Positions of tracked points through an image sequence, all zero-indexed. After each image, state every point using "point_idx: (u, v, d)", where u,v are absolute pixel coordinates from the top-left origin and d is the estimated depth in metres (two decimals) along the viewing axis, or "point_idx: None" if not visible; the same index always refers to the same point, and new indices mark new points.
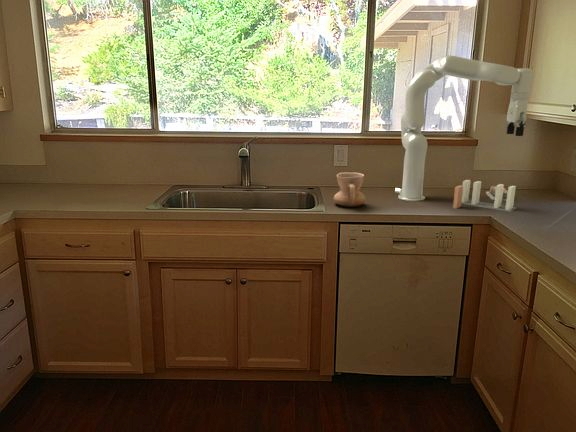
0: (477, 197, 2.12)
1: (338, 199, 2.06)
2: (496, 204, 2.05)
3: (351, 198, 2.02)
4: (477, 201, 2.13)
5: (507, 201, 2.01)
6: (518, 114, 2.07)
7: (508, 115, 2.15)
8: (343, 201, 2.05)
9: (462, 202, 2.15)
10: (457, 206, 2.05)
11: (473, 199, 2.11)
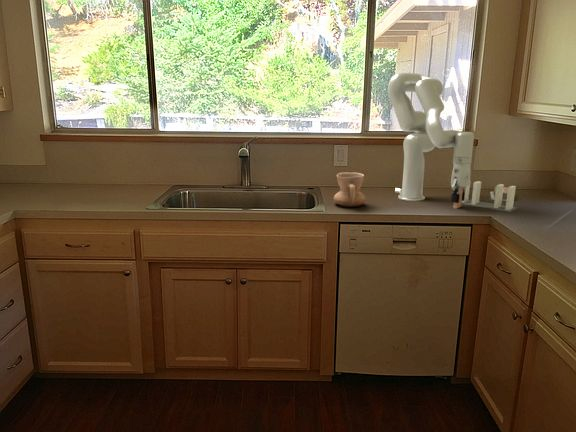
0: (477, 197, 2.12)
1: (338, 199, 2.06)
2: (496, 204, 2.05)
3: (351, 198, 2.02)
4: (477, 201, 2.13)
5: (507, 201, 2.01)
6: None
7: (463, 181, 2.00)
8: (343, 201, 2.05)
9: (462, 202, 2.15)
10: (457, 206, 2.05)
11: (473, 199, 2.11)
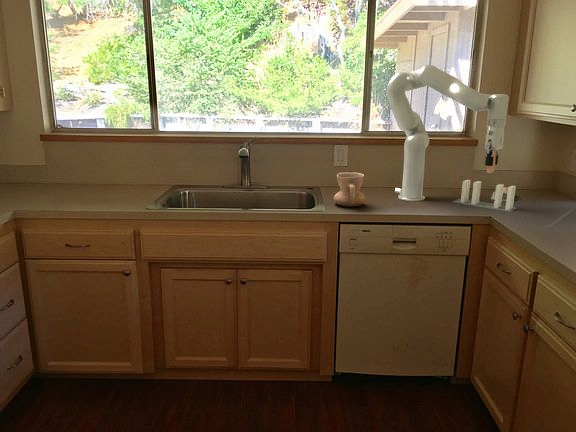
0: (477, 197, 2.12)
1: (338, 199, 2.06)
2: (496, 204, 2.05)
3: (351, 198, 2.02)
4: (477, 201, 2.13)
5: (507, 201, 2.01)
6: None
7: (498, 143, 1.99)
8: (343, 201, 2.05)
9: (462, 202, 2.15)
10: (491, 170, 2.04)
11: (473, 199, 2.11)
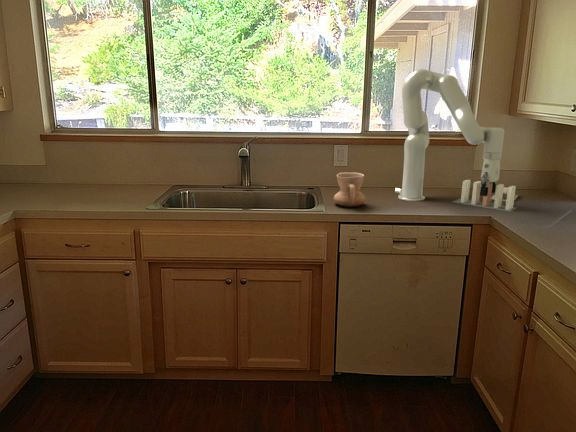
0: (477, 197, 2.12)
1: (338, 199, 2.06)
2: (496, 204, 2.05)
3: (351, 198, 2.02)
4: (477, 201, 2.13)
5: (507, 201, 2.01)
6: None
7: (493, 176, 2.03)
8: (343, 201, 2.05)
9: (462, 202, 2.15)
10: (486, 203, 2.09)
11: (473, 199, 2.11)
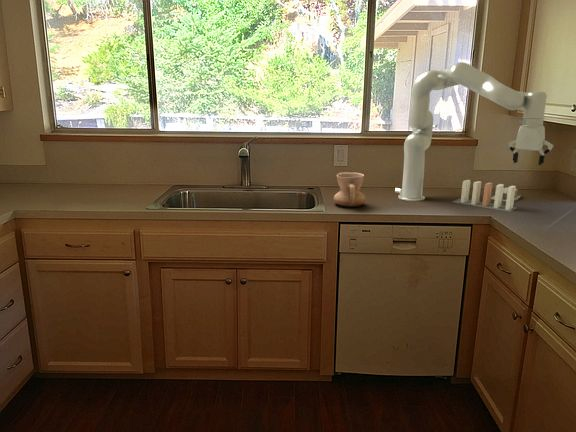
0: (477, 197, 2.12)
1: (338, 199, 2.06)
2: (496, 204, 2.05)
3: (351, 198, 2.02)
4: (477, 201, 2.13)
5: (507, 201, 2.01)
6: (542, 142, 1.89)
7: (521, 143, 1.93)
8: (343, 201, 2.05)
9: (462, 202, 2.15)
10: (486, 203, 2.09)
11: (473, 199, 2.11)
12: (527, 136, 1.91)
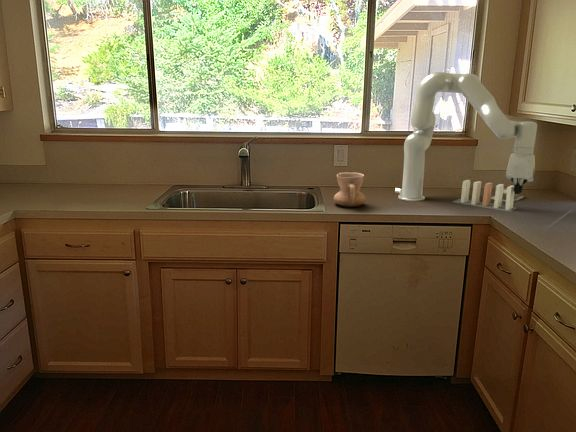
0: (477, 197, 2.12)
1: (338, 199, 2.06)
2: (496, 204, 2.05)
3: (351, 198, 2.02)
4: (477, 201, 2.13)
5: (507, 201, 2.02)
6: (532, 170, 1.93)
7: (511, 171, 1.98)
8: (343, 201, 2.05)
9: (462, 202, 2.15)
10: (486, 203, 2.09)
11: (473, 199, 2.11)
12: (517, 164, 1.96)
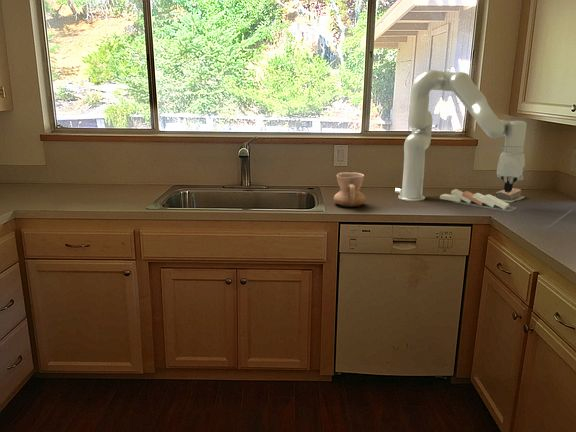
0: None
1: (338, 199, 2.06)
2: (490, 203, 2.07)
3: (351, 198, 2.02)
4: None
5: (496, 204, 2.05)
6: (522, 169, 1.96)
7: (502, 169, 2.00)
8: (343, 201, 2.05)
9: (462, 202, 2.15)
10: None
11: (465, 199, 2.14)
12: (507, 163, 1.98)
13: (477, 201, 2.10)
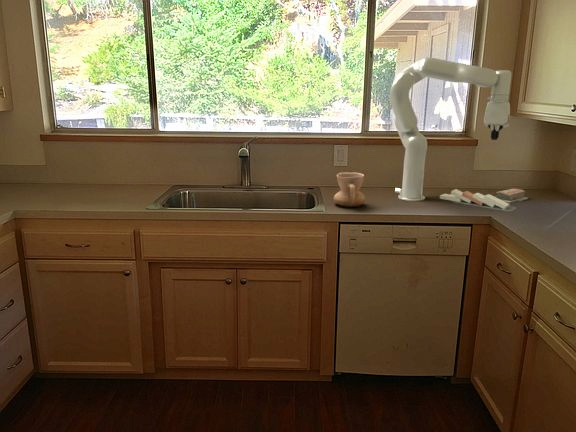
0: None
1: (338, 199, 2.06)
2: (490, 203, 2.07)
3: (351, 198, 2.02)
4: None
5: (496, 204, 2.05)
6: (507, 116, 2.07)
7: (488, 117, 2.11)
8: (343, 201, 2.05)
9: (462, 202, 2.15)
10: None
11: (465, 199, 2.14)
12: (494, 111, 2.09)
13: (477, 201, 2.10)
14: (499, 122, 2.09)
